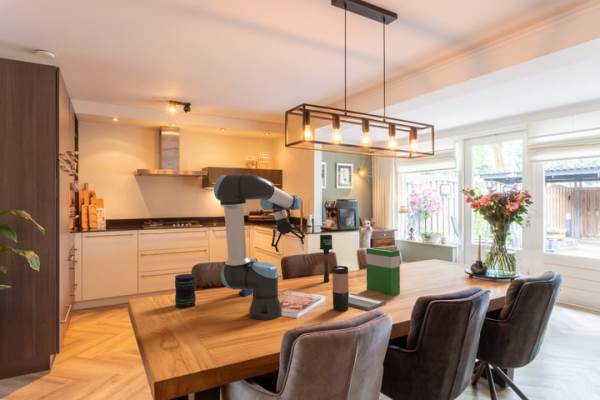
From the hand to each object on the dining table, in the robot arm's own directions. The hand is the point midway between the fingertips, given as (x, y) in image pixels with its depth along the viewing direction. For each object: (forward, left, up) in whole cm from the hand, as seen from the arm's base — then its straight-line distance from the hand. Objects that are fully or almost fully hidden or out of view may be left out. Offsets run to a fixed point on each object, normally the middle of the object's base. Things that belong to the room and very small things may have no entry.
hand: (292, 253), depth 203 cm
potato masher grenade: (+30, 0, -22) cm, 37 cm away
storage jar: (-57, +18, -22) cm, 63 cm away
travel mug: (-8, -42, -22) cm, 48 cm away
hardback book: (+34, -39, -22) cm, 56 cm away
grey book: (+7, -42, -21) cm, 48 cm away
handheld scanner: (-22, +13, -22) cm, 33 cm away
